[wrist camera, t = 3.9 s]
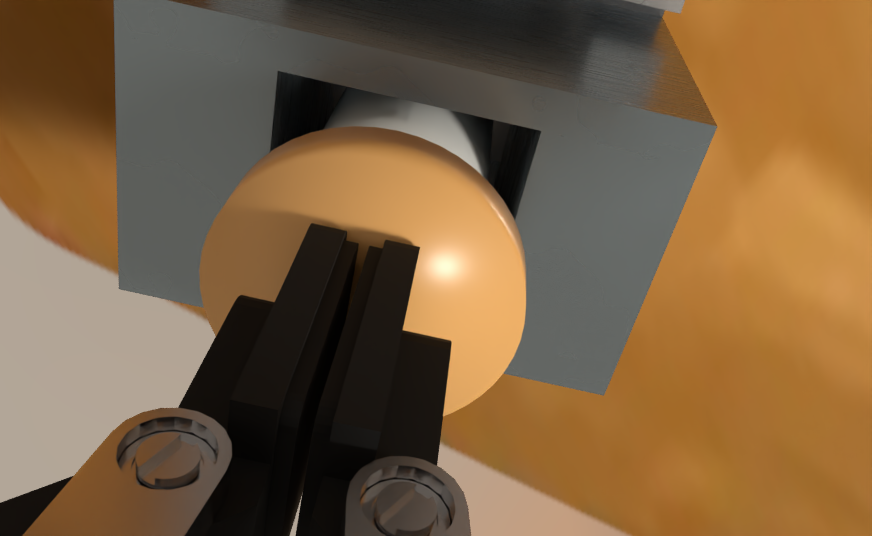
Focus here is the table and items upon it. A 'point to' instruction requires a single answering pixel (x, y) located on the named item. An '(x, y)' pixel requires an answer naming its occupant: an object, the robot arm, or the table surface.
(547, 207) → the rail base
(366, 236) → the button
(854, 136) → the table surface
